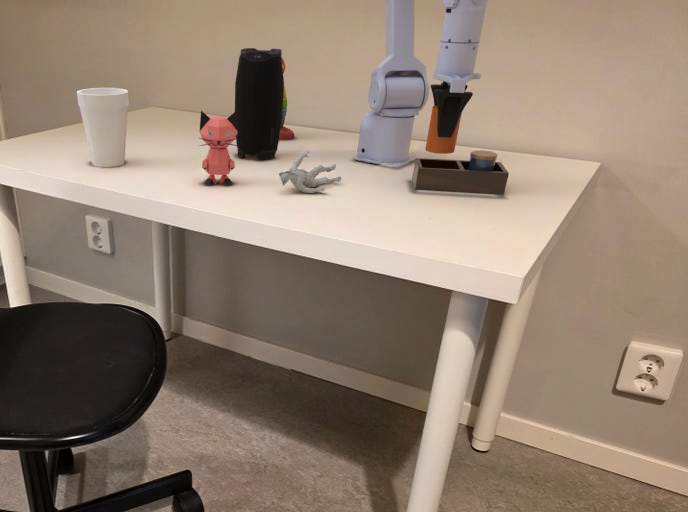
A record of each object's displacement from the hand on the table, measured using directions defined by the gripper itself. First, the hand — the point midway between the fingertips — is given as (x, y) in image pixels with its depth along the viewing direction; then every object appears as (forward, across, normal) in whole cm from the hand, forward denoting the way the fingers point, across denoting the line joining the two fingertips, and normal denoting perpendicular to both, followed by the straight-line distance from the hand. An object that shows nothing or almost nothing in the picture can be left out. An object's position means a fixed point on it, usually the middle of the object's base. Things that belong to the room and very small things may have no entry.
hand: (442, 133), depth 105 cm
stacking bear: (+9, +35, +34) cm, 50 cm away
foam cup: (+9, +5, +60) cm, 61 cm away
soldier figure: (+9, -4, +21) cm, 23 cm away
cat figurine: (+9, -4, +37) cm, 38 cm away
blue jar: (+8, 0, -7) cm, 11 cm away
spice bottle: (+3, 0, 0) cm, 3 cm away
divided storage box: (+9, 0, -4) cm, 10 cm away
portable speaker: (+9, +16, +33) cm, 38 cm away
